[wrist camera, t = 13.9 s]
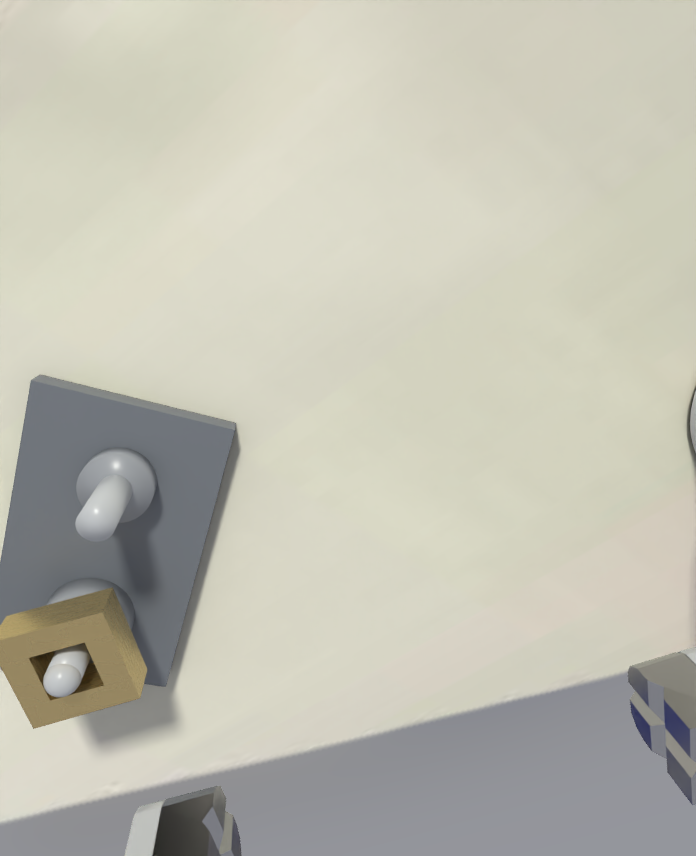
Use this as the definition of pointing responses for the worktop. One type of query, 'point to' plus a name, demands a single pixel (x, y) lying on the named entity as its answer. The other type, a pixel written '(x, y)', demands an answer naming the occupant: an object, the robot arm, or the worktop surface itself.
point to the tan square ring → (63, 627)
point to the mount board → (133, 542)
